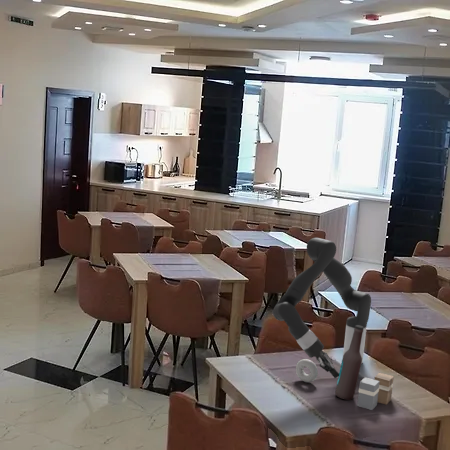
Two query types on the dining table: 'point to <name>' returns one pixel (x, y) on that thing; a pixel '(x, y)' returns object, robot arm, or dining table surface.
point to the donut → (312, 368)
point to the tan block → (384, 387)
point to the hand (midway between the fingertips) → (337, 376)
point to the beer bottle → (350, 367)
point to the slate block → (368, 393)
